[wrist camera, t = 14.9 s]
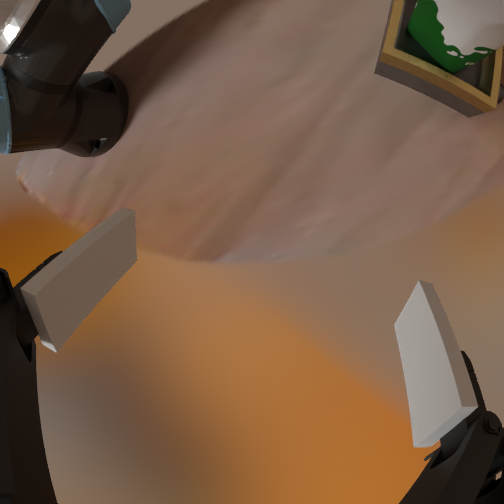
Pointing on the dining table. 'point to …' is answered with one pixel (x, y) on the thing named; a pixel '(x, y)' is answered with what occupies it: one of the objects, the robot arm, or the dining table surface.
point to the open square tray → (437, 68)
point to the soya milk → (458, 30)
